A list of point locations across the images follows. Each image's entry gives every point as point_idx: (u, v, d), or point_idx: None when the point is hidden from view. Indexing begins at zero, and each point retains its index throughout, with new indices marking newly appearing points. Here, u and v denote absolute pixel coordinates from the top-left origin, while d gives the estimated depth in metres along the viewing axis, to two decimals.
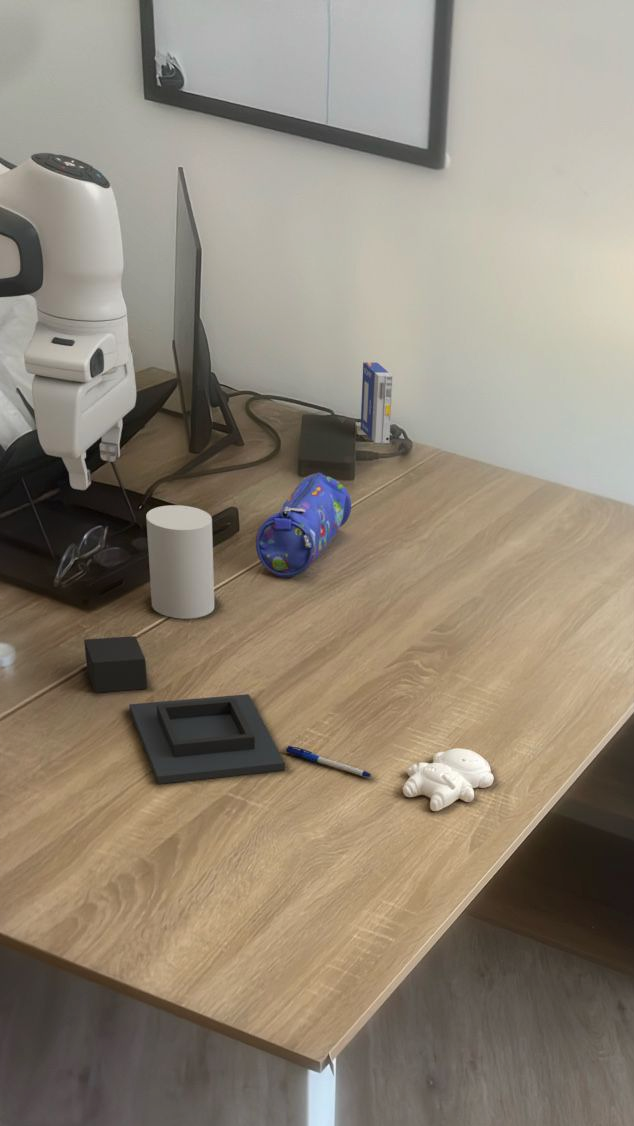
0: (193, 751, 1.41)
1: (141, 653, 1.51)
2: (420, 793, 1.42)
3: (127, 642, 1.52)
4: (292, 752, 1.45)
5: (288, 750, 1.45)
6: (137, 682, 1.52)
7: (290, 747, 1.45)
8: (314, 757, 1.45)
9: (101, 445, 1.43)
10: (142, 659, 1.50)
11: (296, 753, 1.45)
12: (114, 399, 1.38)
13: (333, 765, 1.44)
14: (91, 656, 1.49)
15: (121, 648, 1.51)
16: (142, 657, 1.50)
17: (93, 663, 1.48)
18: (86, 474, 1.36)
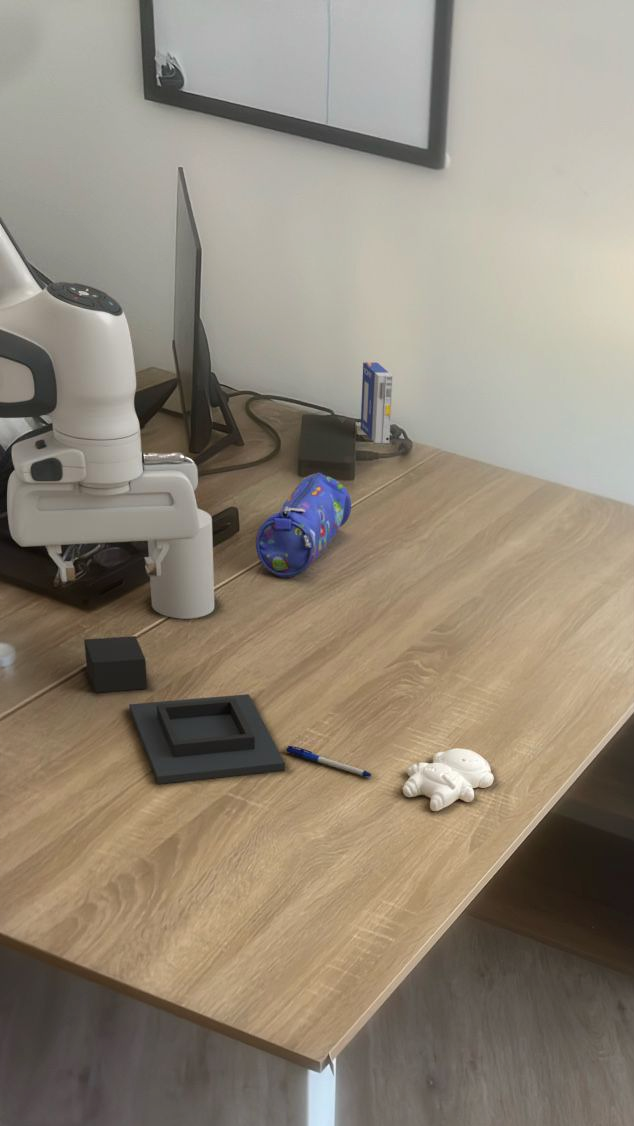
0: (193, 751, 1.41)
1: (141, 653, 1.51)
2: (420, 793, 1.42)
3: (127, 642, 1.52)
4: (292, 752, 1.45)
5: (288, 750, 1.45)
6: (137, 682, 1.52)
7: (290, 747, 1.45)
8: (314, 757, 1.45)
9: None
10: (142, 659, 1.50)
11: (296, 753, 1.45)
12: (129, 517, 1.40)
13: (333, 765, 1.44)
14: (91, 656, 1.49)
15: (121, 648, 1.51)
16: (142, 657, 1.50)
17: (93, 663, 1.48)
18: (63, 569, 1.42)
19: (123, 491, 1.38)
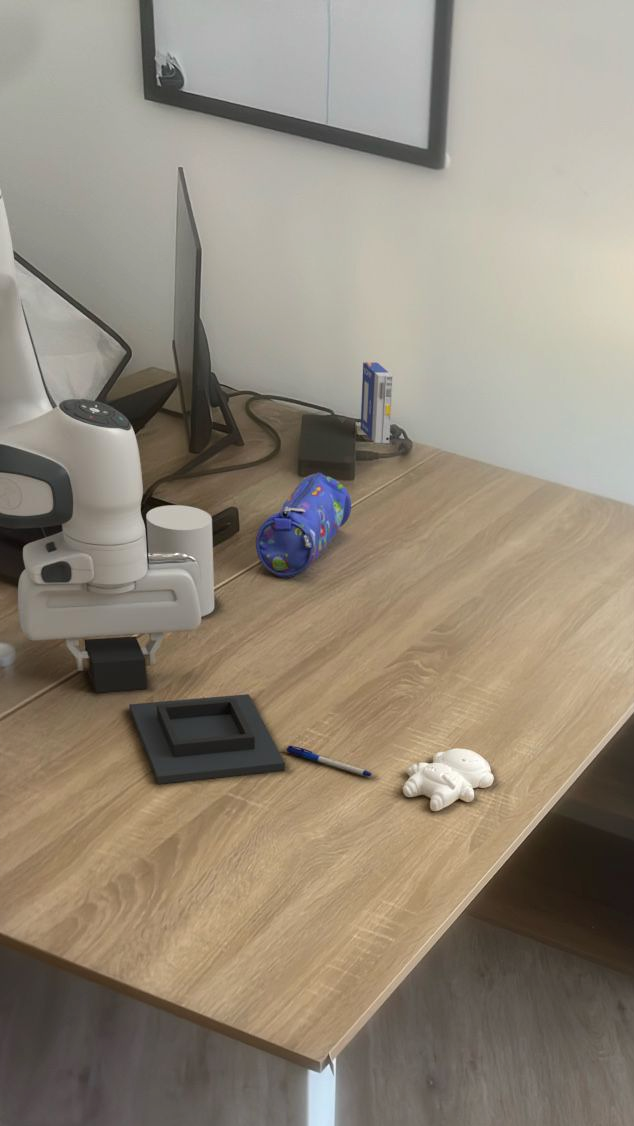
0: (193, 751, 1.41)
1: (141, 653, 1.51)
2: (420, 793, 1.42)
3: (127, 643, 1.53)
4: (293, 752, 1.45)
5: (289, 750, 1.45)
6: (137, 682, 1.52)
7: (291, 747, 1.45)
8: (315, 757, 1.45)
9: None
10: (142, 659, 1.50)
11: (297, 753, 1.45)
12: (134, 613, 1.47)
13: (334, 764, 1.44)
14: (91, 656, 1.49)
15: (121, 648, 1.51)
16: (142, 657, 1.50)
17: (93, 663, 1.48)
18: (80, 659, 1.49)
19: (129, 590, 1.45)
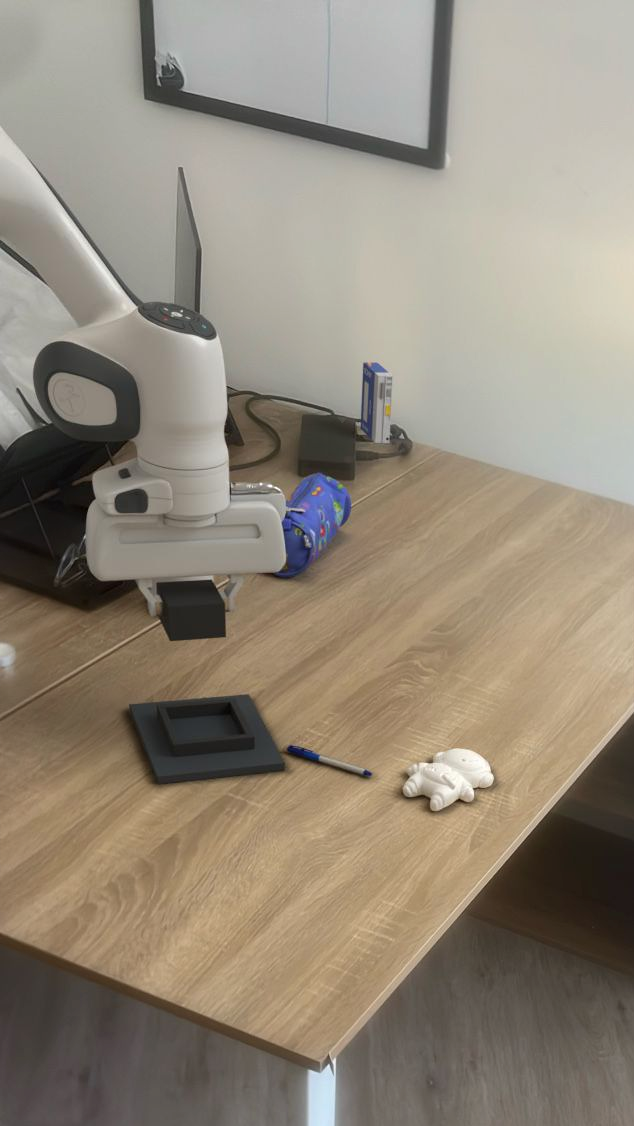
0: (193, 751, 1.41)
1: (220, 597, 1.36)
2: (420, 793, 1.42)
3: (203, 586, 1.37)
4: (293, 751, 1.45)
5: (289, 749, 1.45)
6: (215, 629, 1.36)
7: (291, 746, 1.45)
8: (315, 756, 1.45)
9: None
10: (221, 603, 1.35)
11: (297, 752, 1.45)
12: (214, 550, 1.32)
13: (334, 764, 1.44)
14: (165, 600, 1.34)
15: (197, 592, 1.36)
16: (221, 601, 1.35)
17: (168, 607, 1.33)
18: (153, 603, 1.34)
19: (209, 523, 1.29)
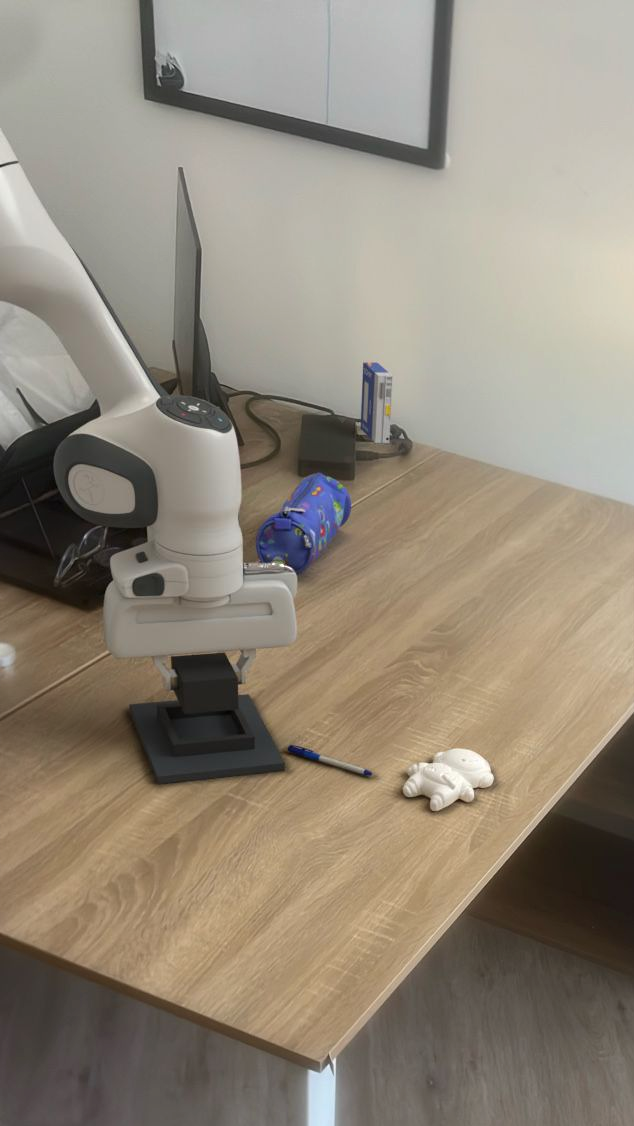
0: (193, 751, 1.41)
1: (233, 671, 1.40)
2: (420, 793, 1.42)
3: (216, 659, 1.41)
4: (293, 751, 1.45)
5: (289, 749, 1.45)
6: (228, 702, 1.40)
7: (291, 746, 1.45)
8: (315, 756, 1.45)
9: None
10: (234, 678, 1.39)
11: (297, 752, 1.45)
12: (227, 628, 1.36)
13: (334, 764, 1.45)
14: (180, 675, 1.38)
15: (211, 666, 1.40)
16: (234, 675, 1.39)
17: (183, 682, 1.37)
18: (168, 678, 1.38)
19: (223, 603, 1.33)
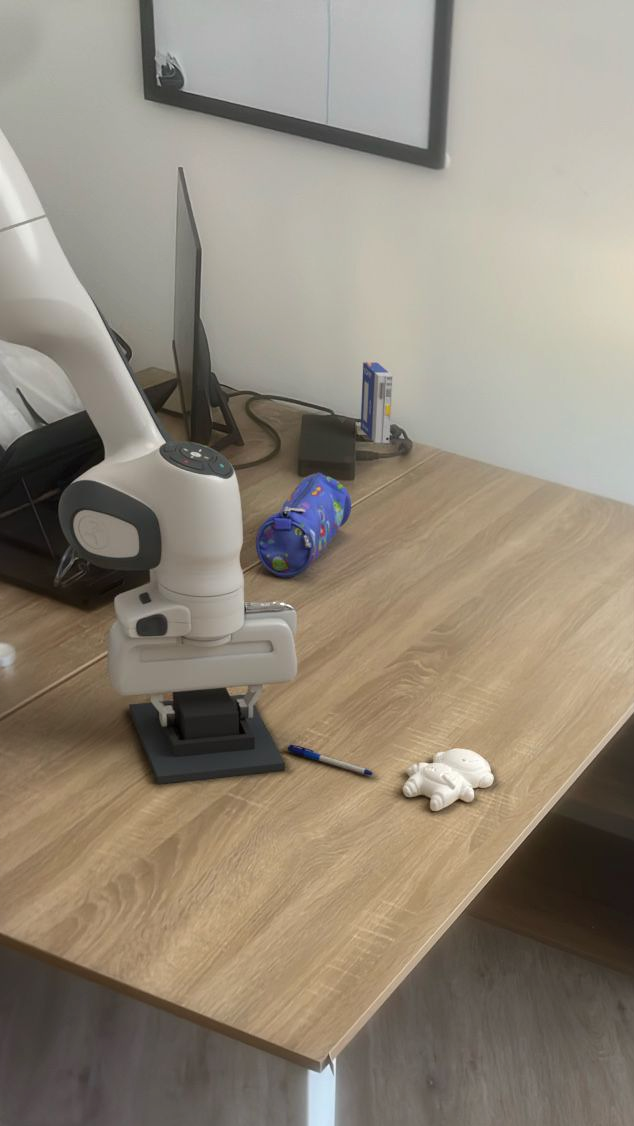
0: (193, 751, 1.41)
1: (233, 706, 1.42)
2: (420, 793, 1.42)
3: (217, 694, 1.44)
4: (294, 751, 1.45)
5: (290, 749, 1.46)
6: None
7: (292, 746, 1.45)
8: (316, 756, 1.45)
9: (236, 701, 1.45)
10: (235, 713, 1.42)
11: (298, 752, 1.45)
12: (229, 665, 1.39)
13: (335, 763, 1.45)
14: (182, 710, 1.40)
15: (212, 701, 1.43)
16: (235, 710, 1.42)
17: (184, 718, 1.39)
18: (164, 714, 1.40)
19: (225, 642, 1.36)
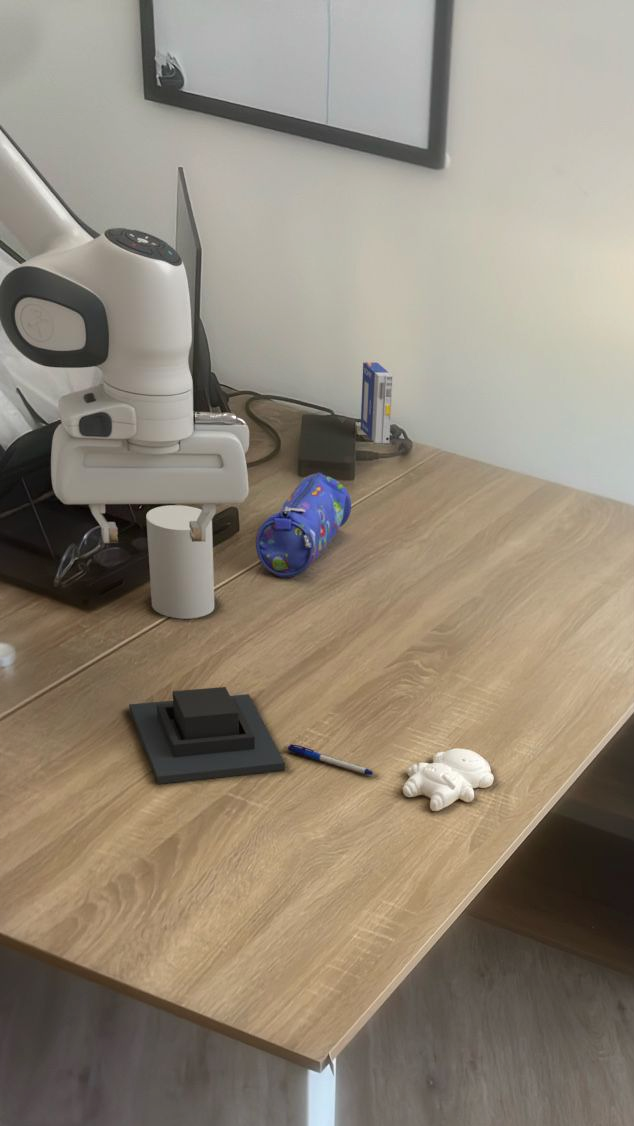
0: (193, 751, 1.41)
1: (233, 706, 1.42)
2: (420, 793, 1.42)
3: (217, 694, 1.44)
4: (294, 750, 1.45)
5: (290, 748, 1.46)
6: None
7: (292, 745, 1.46)
8: (316, 755, 1.45)
9: (189, 522, 1.41)
10: (235, 713, 1.42)
11: (298, 751, 1.45)
12: (177, 478, 1.35)
13: (335, 763, 1.45)
14: (182, 710, 1.40)
15: (212, 701, 1.43)
16: (235, 710, 1.42)
17: (184, 718, 1.39)
18: (106, 529, 1.36)
19: (173, 450, 1.32)
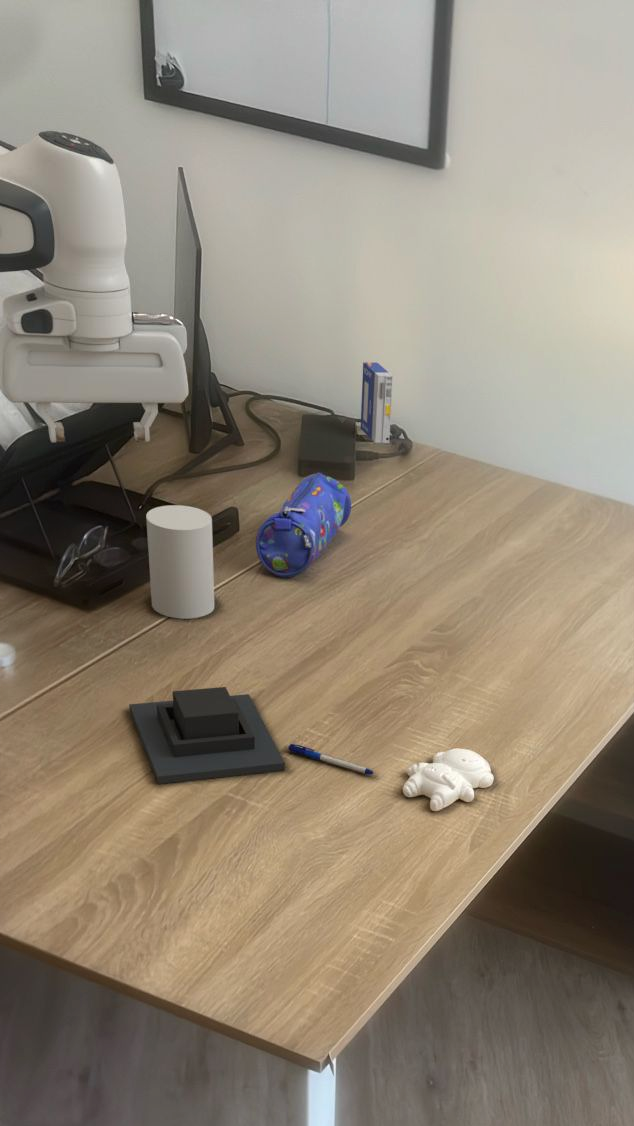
0: (193, 751, 1.41)
1: (233, 706, 1.42)
2: (420, 793, 1.42)
3: (217, 694, 1.44)
4: (294, 750, 1.46)
5: (290, 748, 1.46)
6: None
7: (292, 745, 1.46)
8: (316, 755, 1.45)
9: (133, 423, 1.48)
10: (235, 713, 1.42)
11: (298, 751, 1.45)
12: (118, 377, 1.42)
13: (335, 763, 1.45)
14: (182, 710, 1.40)
15: (212, 701, 1.43)
16: (235, 710, 1.42)
17: (184, 718, 1.39)
18: (53, 428, 1.43)
19: (113, 349, 1.39)
